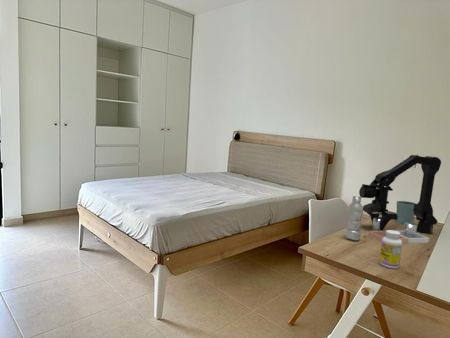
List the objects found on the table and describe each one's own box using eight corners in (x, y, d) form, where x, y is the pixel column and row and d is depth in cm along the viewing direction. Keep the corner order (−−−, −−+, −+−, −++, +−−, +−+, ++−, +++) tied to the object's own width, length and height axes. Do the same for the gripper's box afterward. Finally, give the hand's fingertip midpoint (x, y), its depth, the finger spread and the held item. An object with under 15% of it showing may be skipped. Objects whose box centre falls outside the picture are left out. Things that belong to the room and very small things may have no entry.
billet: (409, 236, 151) (410, 222, 150) (417, 240, 146) (419, 225, 145) (400, 236, 150) (402, 222, 149) (408, 240, 145) (410, 225, 144)
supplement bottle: (375, 261, 119) (379, 228, 118) (392, 261, 120) (395, 229, 119) (386, 269, 113) (390, 234, 111) (403, 269, 113) (407, 235, 112)
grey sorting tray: (409, 236, 155) (410, 230, 155) (430, 244, 143) (430, 238, 143) (367, 237, 150) (367, 231, 149) (385, 246, 138) (385, 239, 138)
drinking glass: (413, 226, 174) (416, 205, 173) (393, 222, 180) (395, 202, 178) (414, 222, 183) (417, 202, 182) (395, 219, 188) (397, 199, 187)
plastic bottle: (359, 238, 147) (363, 196, 144) (360, 243, 140) (365, 199, 138) (344, 236, 149) (349, 195, 146) (345, 240, 142) (349, 197, 140)
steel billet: (378, 230, 163) (379, 216, 162) (384, 233, 158) (386, 219, 157) (369, 230, 162) (371, 216, 161) (376, 233, 157) (377, 219, 156)
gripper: (355, 194, 165) (352, 223, 167) (380, 202, 147) (376, 234, 149) (373, 195, 168) (370, 223, 170) (400, 202, 150) (396, 234, 152)
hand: (377, 228), depth 160 cm, fingers closed on steel billet, 5 cm apart
